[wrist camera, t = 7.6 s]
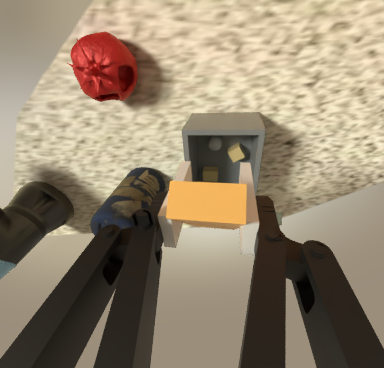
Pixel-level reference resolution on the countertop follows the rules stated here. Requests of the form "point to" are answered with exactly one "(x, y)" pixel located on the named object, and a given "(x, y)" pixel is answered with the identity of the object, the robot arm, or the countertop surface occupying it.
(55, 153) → the countertop surface
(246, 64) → the countertop surface
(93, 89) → the pomegranate
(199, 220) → the lid
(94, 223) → the canister
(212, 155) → the tub
